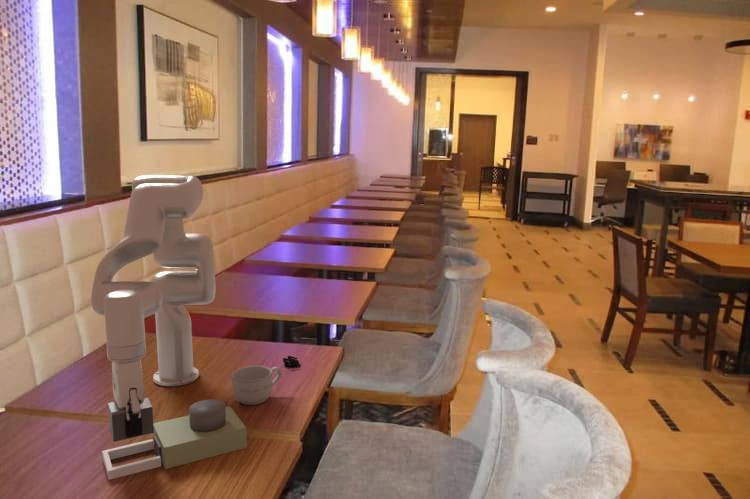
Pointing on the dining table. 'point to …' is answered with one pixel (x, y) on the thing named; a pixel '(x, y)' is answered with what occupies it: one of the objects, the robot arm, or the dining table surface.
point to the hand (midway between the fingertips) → (131, 428)
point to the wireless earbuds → (290, 361)
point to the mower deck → (184, 439)
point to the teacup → (254, 383)
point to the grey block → (119, 416)
